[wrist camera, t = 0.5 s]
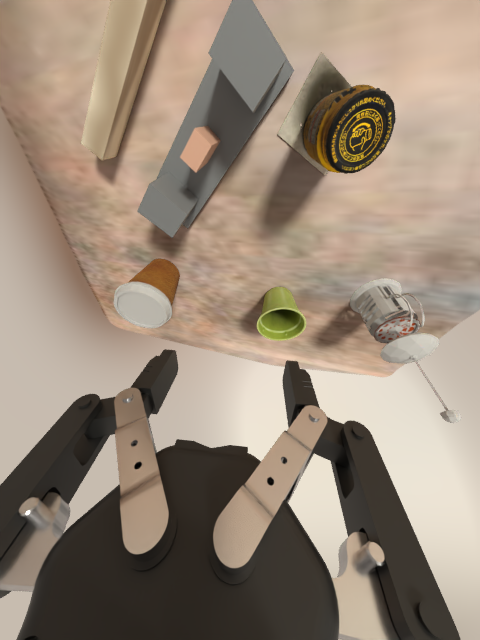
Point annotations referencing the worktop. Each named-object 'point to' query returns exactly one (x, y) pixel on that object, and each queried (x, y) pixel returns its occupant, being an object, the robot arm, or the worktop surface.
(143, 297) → the disposable coffee cup
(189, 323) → the worktop surface
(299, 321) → the plant pot
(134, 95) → the ash bar
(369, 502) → the robot arm
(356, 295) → the french press
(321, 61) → the condiment
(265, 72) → the display stand
